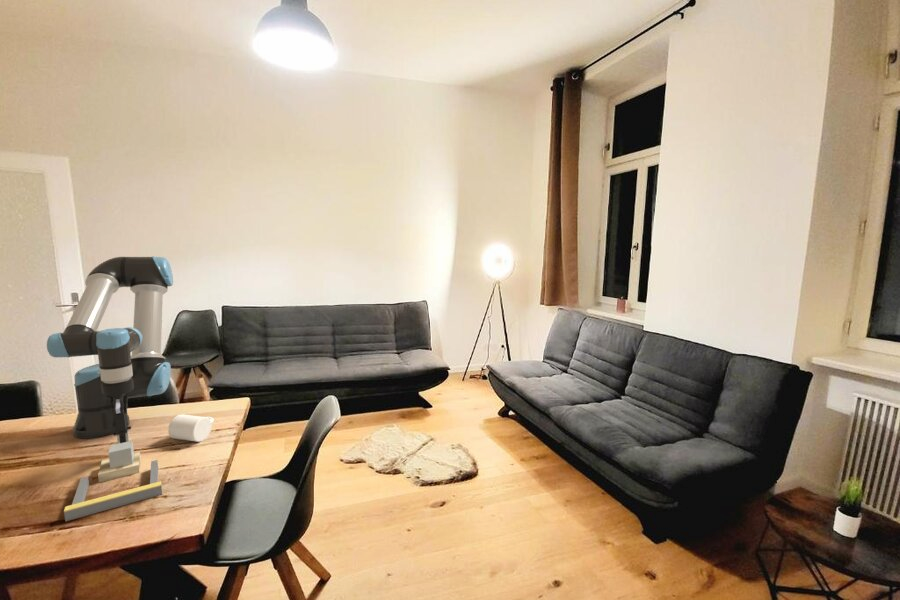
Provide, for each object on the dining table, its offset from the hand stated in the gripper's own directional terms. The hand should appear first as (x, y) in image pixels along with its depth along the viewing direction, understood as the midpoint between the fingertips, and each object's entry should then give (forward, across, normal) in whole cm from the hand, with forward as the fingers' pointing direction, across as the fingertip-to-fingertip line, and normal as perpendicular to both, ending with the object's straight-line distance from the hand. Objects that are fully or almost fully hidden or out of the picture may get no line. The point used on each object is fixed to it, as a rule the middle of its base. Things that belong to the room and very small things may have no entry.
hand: (124, 451), depth 125 cm
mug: (+2, -4, +19) cm, 19 cm away
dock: (+2, +20, 0) cm, 20 cm away
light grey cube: (-1, +9, 0) cm, 9 cm away
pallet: (+2, +9, 0) cm, 9 cm away
